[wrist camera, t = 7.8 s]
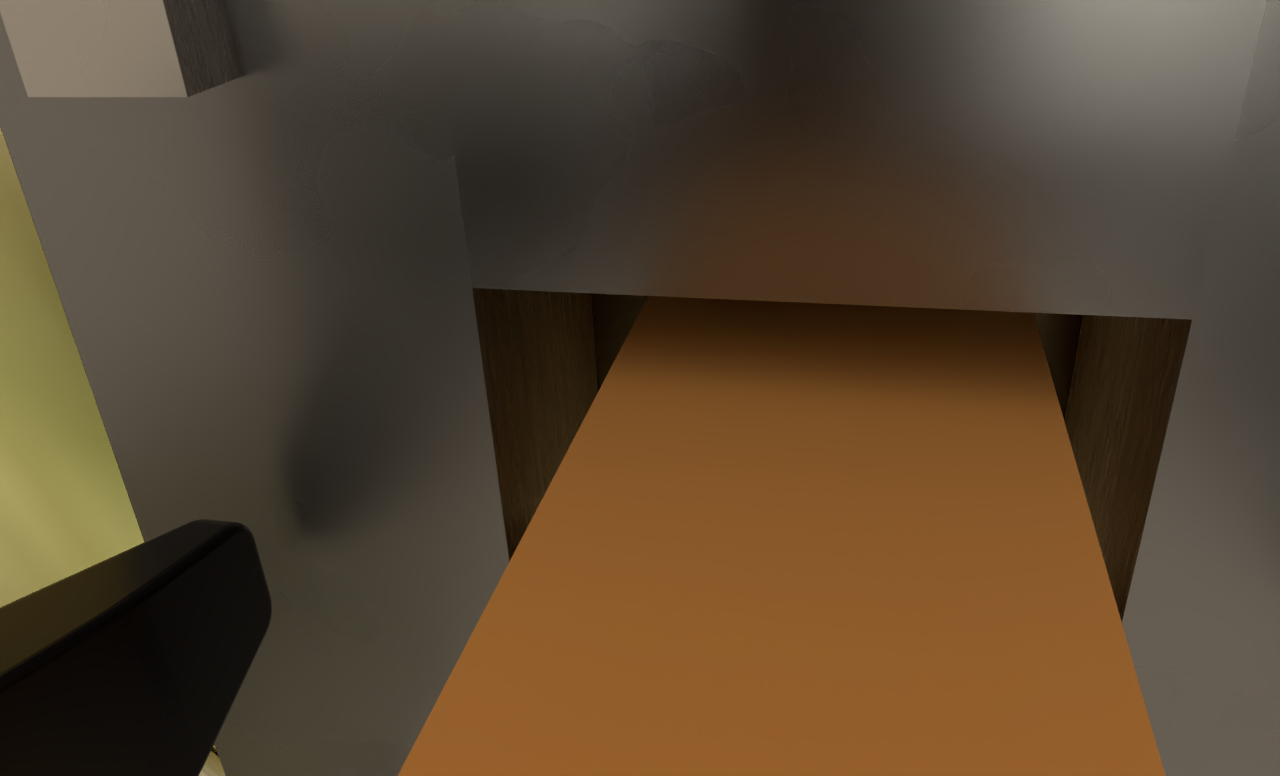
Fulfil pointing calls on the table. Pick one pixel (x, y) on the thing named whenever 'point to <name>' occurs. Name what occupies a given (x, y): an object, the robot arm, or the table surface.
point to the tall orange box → (805, 566)
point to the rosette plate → (643, 285)
